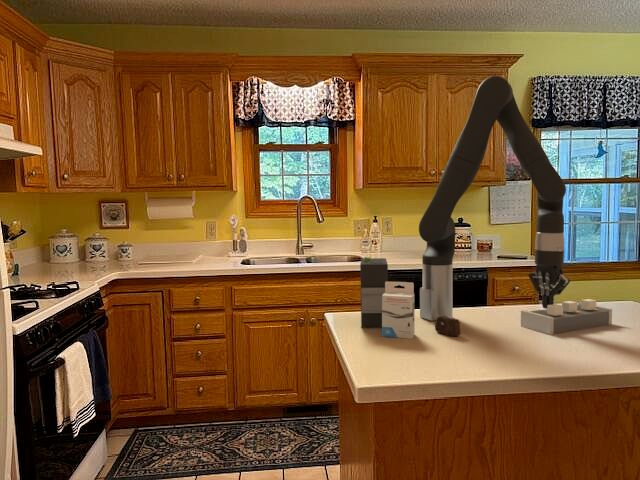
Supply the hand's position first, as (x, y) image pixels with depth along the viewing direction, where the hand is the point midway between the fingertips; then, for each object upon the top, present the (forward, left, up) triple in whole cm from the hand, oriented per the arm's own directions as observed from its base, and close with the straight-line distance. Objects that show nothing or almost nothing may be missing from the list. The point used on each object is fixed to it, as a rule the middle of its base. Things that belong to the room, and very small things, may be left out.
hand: (547, 308), depth 141 cm
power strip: (+7, -1, -6) cm, 9 cm away
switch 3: (+14, -2, -2) cm, 14 cm away
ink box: (-42, +12, -6) cm, 44 cm away
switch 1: (0, -3, -2) cm, 3 cm away
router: (-40, +29, -6) cm, 50 cm away
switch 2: (+7, -2, -2) cm, 7 cm away
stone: (-29, +7, -6) cm, 31 cm away
